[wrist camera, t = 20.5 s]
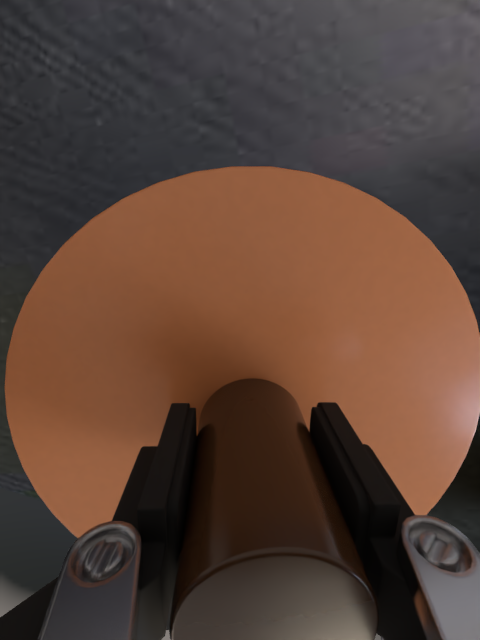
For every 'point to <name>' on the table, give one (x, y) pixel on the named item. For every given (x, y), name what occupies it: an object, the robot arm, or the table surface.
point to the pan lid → (246, 382)
